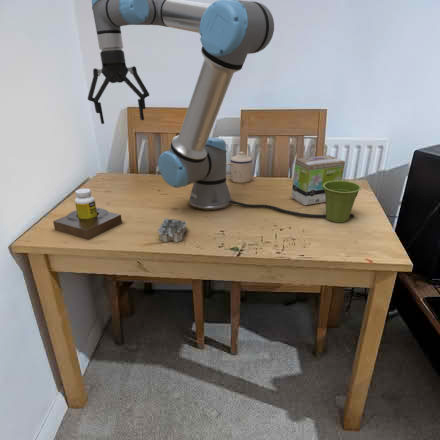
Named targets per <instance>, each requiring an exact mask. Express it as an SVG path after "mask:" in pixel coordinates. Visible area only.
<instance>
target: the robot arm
mask: <svg viewBox="0 0 440 440" xmlns="http://www.w3.org/2000/svg"><path fill="white" fill-rule="evenodd" d="M91 10H92V14H93V20H94V25H95V30H96V37H97V43H98V47H99V50H101V51H100V53H99V55H100V61H101V68H93V69H92V75H93V76H92V80H91V84H90V87H89V92H88V95H87V100H88V101H89V102H92V103H93V105H94V110H95V113H96V114H99V118H100V119H99V120H100V124H101V125H104V124H105V119H104V114H103V109H102V108H103V107H102V103H101V102H100V99H101V98H102V96H103V93H104V92H105V90H106V88H107V86H108V85H109V84H116V83H118V84H120V83H121V84H122V83H123V82H124V83H125V84H126V85H127V86H128V87H129V88H130V89H131V90H132V92H134V94H136V96H137V97H139V98H137V104H138V111H139V118H140V120H141V121H145V115H144V110H146V98H148V97H150V92H149V91H148V89H147V88H146V86H145V84H144V83H143V80H142V78H140V75H139V74H138V70H137V67H136V66H135V65H133V66H131V67H127V63H126V56H125V52H124V50H123V48H124V44H123V43H124V42H123V36H122V30H121V27H125V26H160V27H164V28H165V27H166V28H172V29H177V30H181V31H187V32H193V33H198V34H199V35H200V37H199V40H200V43H201V48H200V49H201V50H200V52H201V54H202V57H203V62H202V65H201V68H200V71H199V74H198V77H197V80H196V83H195V86H194V89H193V92H192V95H191V98H190V101H189V104H188V107H187V110H186V114H185V115H184V118H183V123H182V125H181V128H180V131H179V134H178V135H176V136H173V138H172V140H171V143H170V146H169V148H168V150H165V151H163V152H162V153H161V154H160V155H159V157H158V160H157V167H158V170H159V173H160V176H161V177H162V179H163V180H164V182H165V183H166V184H167V185H168V186H170V187H172V188H175V189H178V188H182V187H183V188H184V187H186V186H188V185H191V184H193V185H192V188H191V192H190V194H189V195H190V196H189V205H190V206H191V207H192V208H194V209H197V210H201V211H218V210H223V209H226V208H228V207H230V206H231V204H233V205H237V206H241V207H245V208H267V209H272V210H275V211H278V212H281V213H285V214H288V215H294V216H299V217H306V218H326V214H315V213H303V212H297V211H293V210H287V209H284V208H280V207H278V206H275V205H270V204H261V203H260V204H251V203H250V204H247V203H244V202H239V201H236V200H232V196H231V194H230V189H229V186H228V184H227V174H226V171H227V165H226V163H227V152H228V151H227V144H226V141H225V140H224V139H222V138H219V137H212V136H210V135H211V132H212V130H213V128H214V125H215V123H216V119H217V117H218V115H219V112H220V109H221V107H222V104H223V101H224V99H225V96H226V94H227V91H228V89H229V87H230V84H231V81H232V79H233V77H234V74H235V73H237V72H239V71H242V69H243V67H244V63H245V61H246V59H247V56H248V55H251V54H257V53H259V52H261V51H263V50H265V49H266V48H267V47H268V45H269V44H270V42H271V40H272V39H273V36H274V32H275V20H274V16H273V14H272V13H271V10H270V9H269V8H268V7H267V6H266V5H265V4H263V3H261V2H258V1H254V0H253V1H251V0H216V1H213V2H212V3H206V2H198V1H192V0H91ZM128 73H130V75H132V76H133V78H134V80H135V81H136V83H137V85H138V86H139V88H140V90H141V91H140V90H139V89H138V88H137V87H136V85H135V84H133V83H132V81H131V80H130V78H128V77H127V75H128ZM101 74H102V75H103V77H105V78H104V80H103V82H102V84H101V86H100V87H99V89H98V91H97V93H96V94H95V90H96V86H97V84H98V83H97V82H98V78H99V77H100V76H101ZM94 94H95V96H94ZM354 217H355V213H350V216H349V218H354ZM326 219H327V218H326Z"/></svg>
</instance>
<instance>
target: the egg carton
mask: <svg viewBox="0 0 440 440" xmlns="http://www.w3.org/2000/svg"><path fill="white" fill-rule="evenodd" d="M186 226H187V222H186V220H183V221H181V219H173V218H171V219H169V218H167V217H165V218H164V219H163V222H162V223H161V224H160V226H159V228H158V229H157V231H158V234H159V239H160V241H162V242H164V243H167V242H169V241H174V243H178V242H181V241H183V239H184V236H185V233H186V231H187V230H186Z"/></svg>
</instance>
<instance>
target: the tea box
mask: <svg viewBox="0 0 440 440" xmlns="http://www.w3.org/2000/svg"><path fill="white" fill-rule="evenodd" d="M345 165H346V161H345V160H342V159H340V158H338V157H335V156H332V155H330V154H328V155H318V156H311V157H302V158H296V159H295V163H294V170H293V171H294V172H293V179H292V186H291V187H292V189H291V198H292V199H293V200H295V201H297V202H298V203H300V204H302V205H304V206H309V205H315V204H321V203H326V197H325V189H324V187H323V184H324V183H326V182H329V181H337V180H338V181H343V178H344V171H345Z"/></svg>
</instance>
